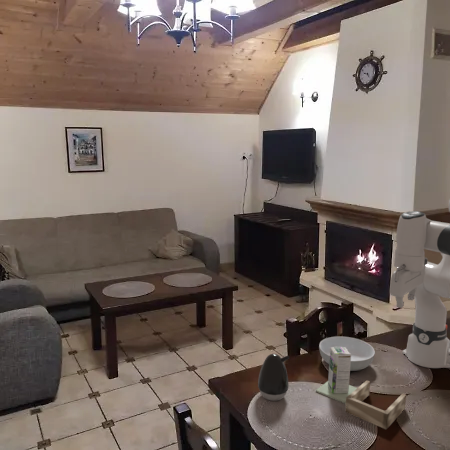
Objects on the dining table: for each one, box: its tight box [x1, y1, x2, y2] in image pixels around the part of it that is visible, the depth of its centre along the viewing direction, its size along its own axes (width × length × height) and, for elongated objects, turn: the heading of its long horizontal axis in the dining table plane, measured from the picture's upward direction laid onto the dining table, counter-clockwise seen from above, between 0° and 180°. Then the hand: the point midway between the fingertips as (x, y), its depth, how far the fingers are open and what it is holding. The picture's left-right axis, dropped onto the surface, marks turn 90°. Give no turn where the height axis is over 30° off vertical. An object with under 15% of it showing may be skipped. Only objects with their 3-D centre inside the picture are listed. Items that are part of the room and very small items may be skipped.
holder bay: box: [345, 380, 407, 430], centre depth 147 cm, size 15×13×5 cm
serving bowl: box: [318, 336, 376, 372], centre depth 178 cm, size 21×21×7 cm
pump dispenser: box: [257, 353, 290, 402], centre depth 154 cm, size 10×10×15 cm
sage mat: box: [315, 380, 358, 405], centre depth 159 cm, size 11×11×1 cm
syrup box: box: [327, 347, 351, 394], centre depth 157 cm, size 6×6×14 cm
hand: (405, 303), depth 150 cm, fingers open, 8 cm apart
